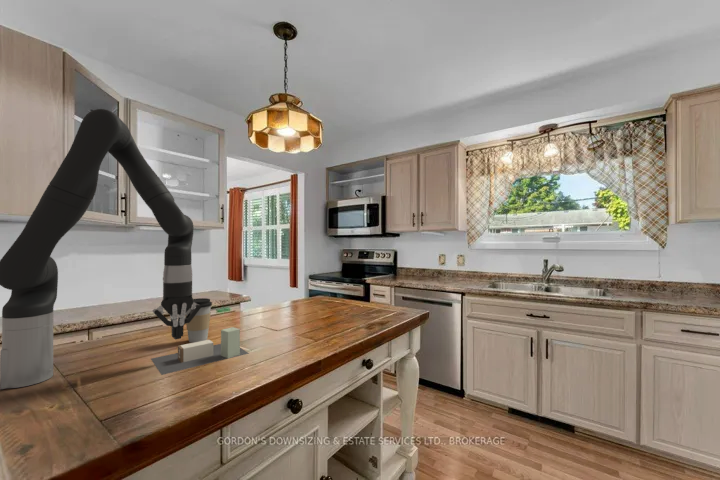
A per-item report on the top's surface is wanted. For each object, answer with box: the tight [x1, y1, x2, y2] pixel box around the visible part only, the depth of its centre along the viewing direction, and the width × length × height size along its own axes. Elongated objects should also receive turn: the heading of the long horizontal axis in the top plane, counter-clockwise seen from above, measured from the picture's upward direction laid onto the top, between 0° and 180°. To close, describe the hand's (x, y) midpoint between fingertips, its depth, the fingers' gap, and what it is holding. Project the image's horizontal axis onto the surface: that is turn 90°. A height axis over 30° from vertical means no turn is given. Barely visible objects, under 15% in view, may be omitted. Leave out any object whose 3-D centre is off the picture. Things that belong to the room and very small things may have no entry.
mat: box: [150, 343, 250, 376], centre depth 98 cm, size 24×16×1 cm, turn 132°
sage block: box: [220, 326, 241, 359], centre depth 99 cm, size 4×4×8 cm
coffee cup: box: [185, 297, 213, 343], centre depth 114 cm, size 9×9×15 cm
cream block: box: [177, 339, 214, 363], centre depth 97 cm, size 4×4×9 cm
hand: (177, 338), depth 94 cm, fingers closed
